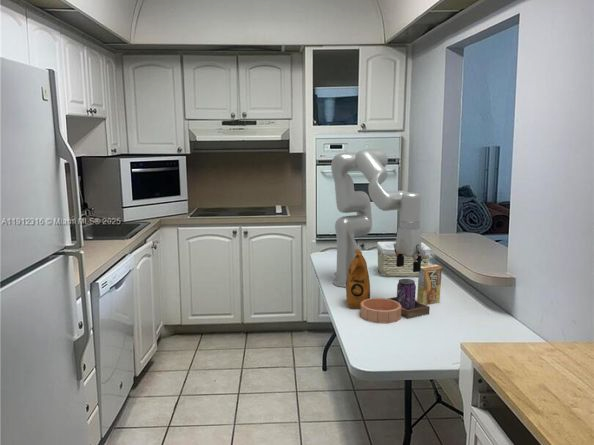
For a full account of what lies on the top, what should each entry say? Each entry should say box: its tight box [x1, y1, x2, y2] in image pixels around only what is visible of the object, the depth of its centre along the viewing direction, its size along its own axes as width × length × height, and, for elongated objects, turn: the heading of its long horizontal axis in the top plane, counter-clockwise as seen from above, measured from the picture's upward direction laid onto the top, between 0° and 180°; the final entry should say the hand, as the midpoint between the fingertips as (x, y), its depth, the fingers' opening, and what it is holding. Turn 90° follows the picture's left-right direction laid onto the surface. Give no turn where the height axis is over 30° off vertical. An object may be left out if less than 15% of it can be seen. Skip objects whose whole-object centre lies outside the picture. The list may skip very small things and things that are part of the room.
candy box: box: [416, 264, 443, 305], centre depth 203 cm, size 9×4×15 cm, turn 116°
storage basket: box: [376, 241, 432, 278], centre depth 246 cm, size 24×16×15 cm
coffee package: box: [345, 248, 371, 310], centre depth 200 cm, size 10×12×22 cm
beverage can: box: [396, 278, 417, 310], centre depth 195 cm, size 7×7×12 cm
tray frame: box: [387, 296, 431, 320], centre depth 195 cm, size 15×11×3 cm
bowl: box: [359, 297, 402, 324], centre depth 189 cm, size 15×15×4 cm
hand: (408, 268), depth 192 cm, fingers open, 9 cm apart
